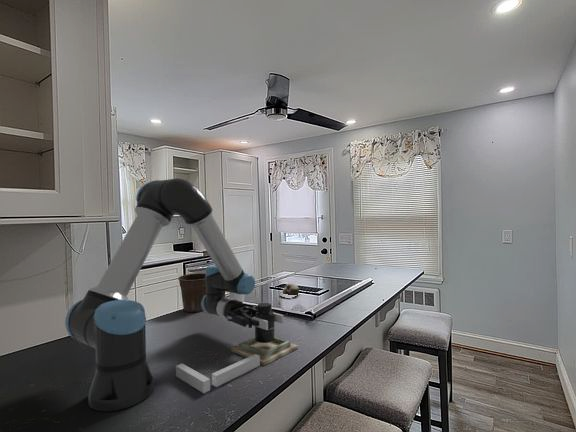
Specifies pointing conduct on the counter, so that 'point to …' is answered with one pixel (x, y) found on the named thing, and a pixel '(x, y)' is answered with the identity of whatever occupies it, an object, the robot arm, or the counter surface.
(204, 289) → the plant pot
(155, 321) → the counter surface
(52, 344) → the counter surface
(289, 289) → the skull
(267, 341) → the supplement bottle
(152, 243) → the robot arm
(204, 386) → the bracket
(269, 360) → the seating station
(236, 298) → the foam cup
